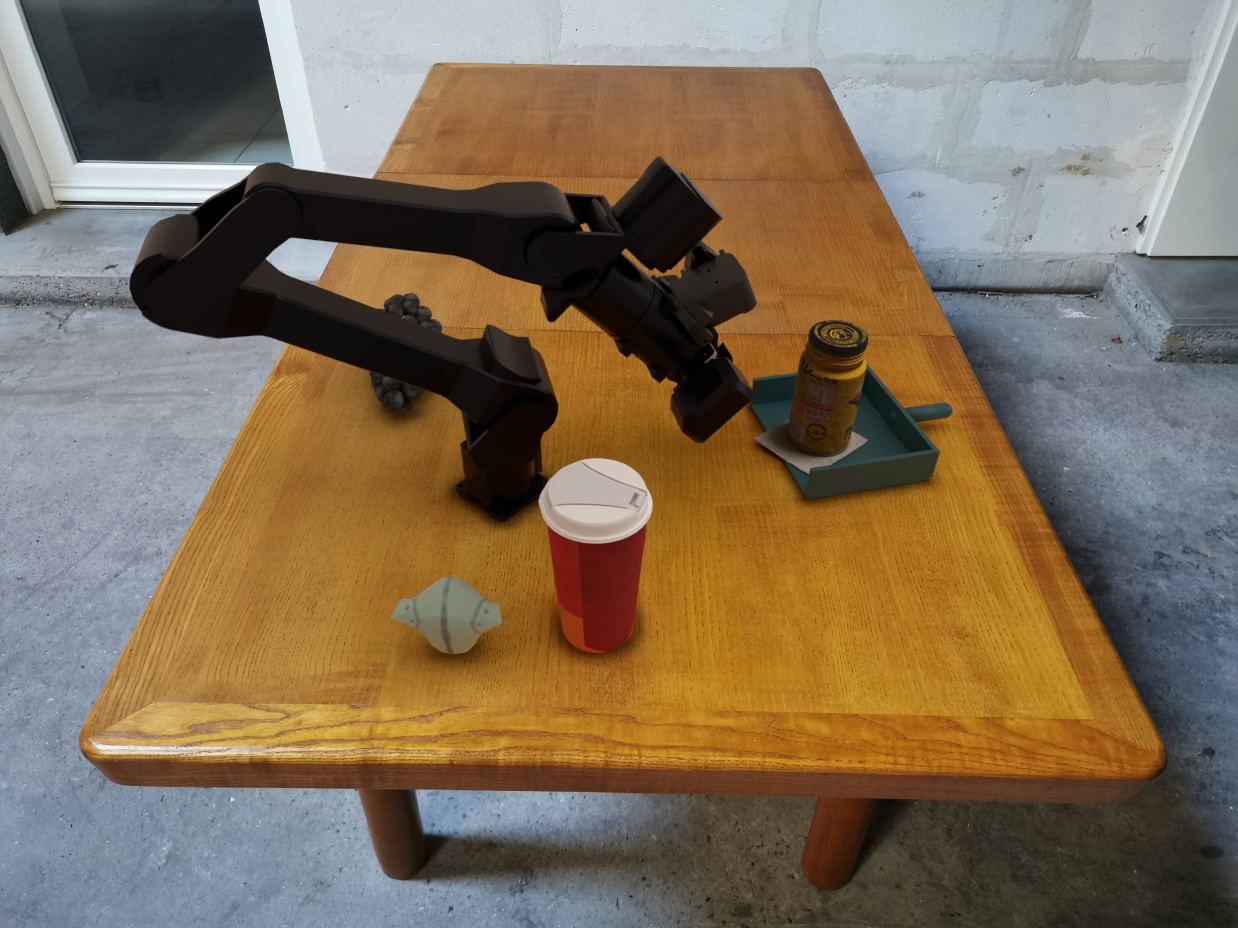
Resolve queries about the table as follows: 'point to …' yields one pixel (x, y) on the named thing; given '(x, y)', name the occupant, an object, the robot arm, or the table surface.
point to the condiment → (823, 398)
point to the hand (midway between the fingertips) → (742, 400)
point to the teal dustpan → (874, 459)
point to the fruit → (388, 389)
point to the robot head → (449, 615)
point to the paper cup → (596, 549)
